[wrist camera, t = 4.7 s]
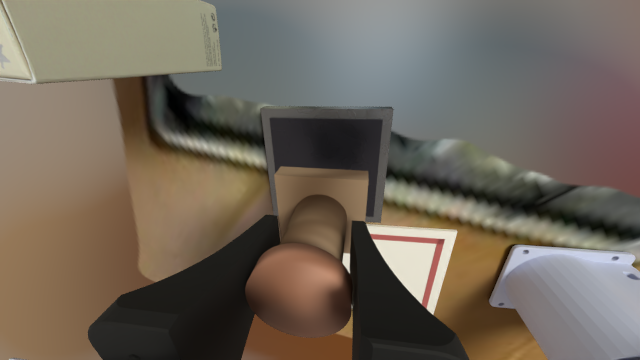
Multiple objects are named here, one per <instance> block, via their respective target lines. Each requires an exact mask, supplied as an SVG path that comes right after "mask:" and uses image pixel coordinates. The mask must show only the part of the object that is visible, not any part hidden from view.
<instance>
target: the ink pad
mask: <svg viewBox="0 0 640 360" xmlns="http://www.w3.org/2000/svg"><path fill="white" fill-rule="evenodd" d="M261 116H262V124H263V132H264V140H265V149H266V157H267V165H268V173H269V181H270V189H271V197H272V205H273V214H274V215H276V216H279V214H278V205H277V196H276V187H275V178H274V175H275V173H276V172H277V171H278V170H279V168H280V167H281V166H283V167H302V168H321V169H341V170H360V171H368V179H369V181H368V193H367V205H366V217H365V222H379V223H381V215H382V206H383V197H384V188H385V179H386V170H387V162H388V153H389V144H390V135H391V126H392V117H393V108H392V107H307V106H304V107H303V106H302V107H301V106H300V107H299V106H298V107H294V106H288V107H287V106H265V107H263V108H261Z"/></svg>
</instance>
